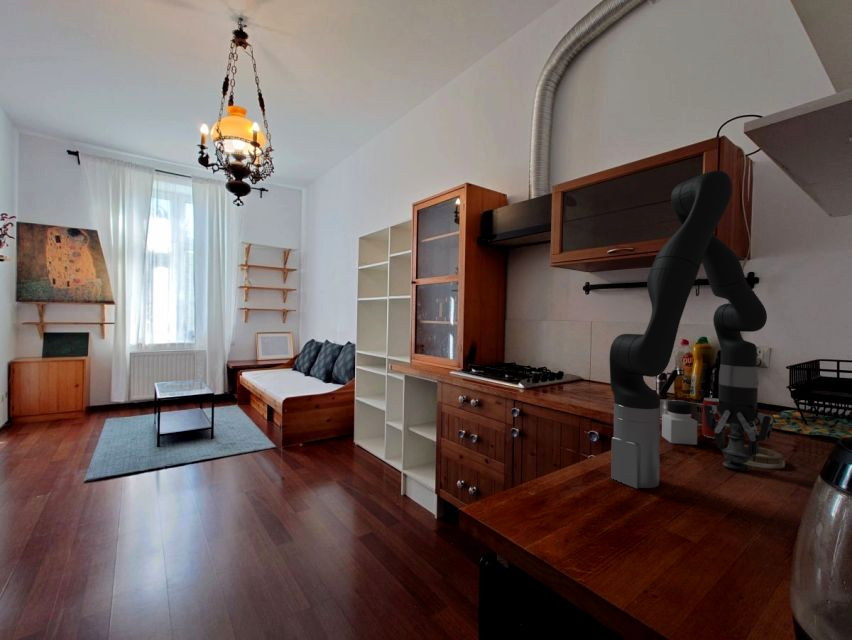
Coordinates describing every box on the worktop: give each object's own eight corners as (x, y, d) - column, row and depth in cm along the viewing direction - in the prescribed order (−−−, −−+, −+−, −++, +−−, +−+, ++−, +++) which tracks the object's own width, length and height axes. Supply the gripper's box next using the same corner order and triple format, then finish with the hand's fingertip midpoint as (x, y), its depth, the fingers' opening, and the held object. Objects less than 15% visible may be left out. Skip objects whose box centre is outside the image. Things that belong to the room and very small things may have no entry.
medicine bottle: (697, 445, 114) (698, 404, 114) (670, 443, 116) (671, 403, 116) (686, 438, 121) (687, 399, 121) (661, 436, 123) (661, 398, 123)
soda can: (715, 440, 119) (716, 400, 119) (698, 434, 125) (698, 397, 125) (728, 438, 121) (728, 399, 121) (710, 433, 126) (710, 396, 126)
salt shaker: (725, 468, 95) (726, 419, 95) (717, 460, 100) (718, 413, 100) (755, 472, 93) (756, 421, 93) (745, 464, 98) (746, 416, 98)
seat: (774, 471, 95) (774, 461, 95) (721, 457, 104) (721, 448, 104) (791, 463, 100) (792, 454, 100) (740, 451, 110) (740, 442, 110)
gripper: (697, 380, 101) (696, 445, 101) (767, 389, 88) (766, 464, 88) (712, 378, 104) (711, 441, 105) (781, 387, 92) (780, 458, 92)
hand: (736, 451), depth 96 cm, fingers closed on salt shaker, 6 cm apart
